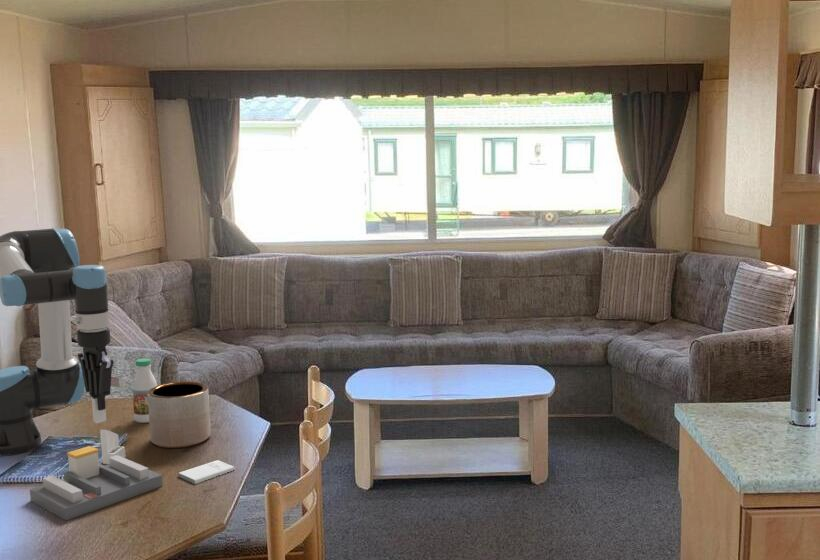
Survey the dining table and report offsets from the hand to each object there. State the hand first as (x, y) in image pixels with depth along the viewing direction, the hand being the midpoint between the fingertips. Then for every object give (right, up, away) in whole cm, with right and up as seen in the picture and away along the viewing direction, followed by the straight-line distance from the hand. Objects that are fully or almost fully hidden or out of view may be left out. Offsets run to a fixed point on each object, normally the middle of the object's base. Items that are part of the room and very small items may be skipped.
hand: (99, 421), depth 206 cm
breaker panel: (-3, -19, +5) cm, 20 cm away
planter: (+8, -13, +45) cm, 47 cm away
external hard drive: (+22, -18, +18) cm, 33 cm away
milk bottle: (-9, -10, +64) cm, 65 cm away
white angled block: (-6, -16, +28) cm, 33 cm away
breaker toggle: (-7, -16, +9) cm, 19 cm away
